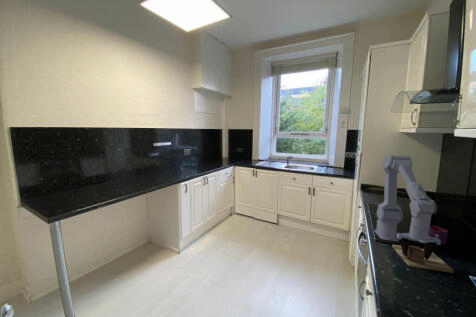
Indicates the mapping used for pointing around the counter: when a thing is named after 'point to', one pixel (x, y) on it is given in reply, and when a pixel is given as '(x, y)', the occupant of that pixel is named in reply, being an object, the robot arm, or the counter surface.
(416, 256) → the peg
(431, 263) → the board
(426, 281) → the counter surface
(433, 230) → the mug
